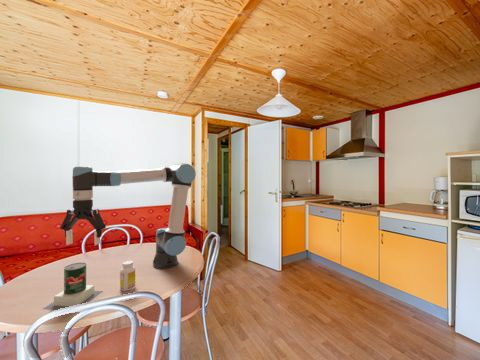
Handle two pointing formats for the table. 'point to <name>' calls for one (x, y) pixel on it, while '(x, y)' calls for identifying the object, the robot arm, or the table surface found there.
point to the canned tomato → (74, 278)
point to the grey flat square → (68, 306)
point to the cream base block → (73, 297)
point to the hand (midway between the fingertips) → (83, 244)
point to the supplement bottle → (127, 276)
